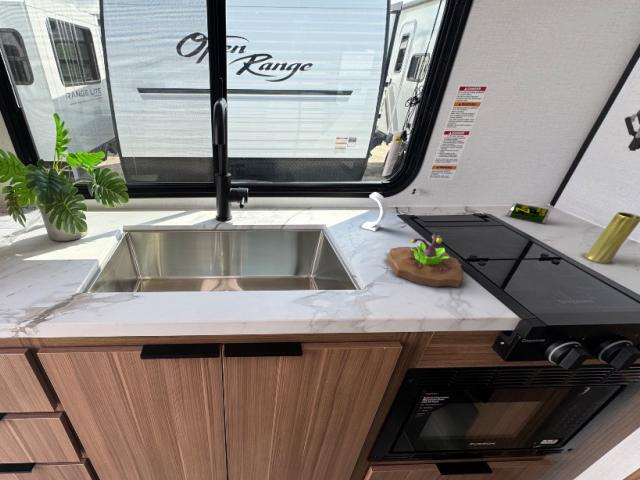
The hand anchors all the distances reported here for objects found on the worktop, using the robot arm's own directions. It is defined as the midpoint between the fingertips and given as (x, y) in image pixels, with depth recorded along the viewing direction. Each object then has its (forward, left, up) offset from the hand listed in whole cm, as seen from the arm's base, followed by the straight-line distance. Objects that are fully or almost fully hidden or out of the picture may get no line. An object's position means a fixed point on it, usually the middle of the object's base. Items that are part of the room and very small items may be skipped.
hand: (631, 150), depth 107 cm
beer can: (+11, +6, -24) cm, 27 cm away
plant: (+30, +78, -27) cm, 88 cm away
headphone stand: (+55, +60, -27) cm, 86 cm away
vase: (-6, +31, -27) cm, 42 cm away
